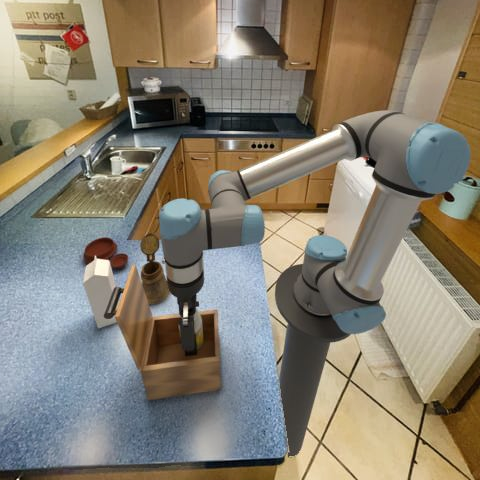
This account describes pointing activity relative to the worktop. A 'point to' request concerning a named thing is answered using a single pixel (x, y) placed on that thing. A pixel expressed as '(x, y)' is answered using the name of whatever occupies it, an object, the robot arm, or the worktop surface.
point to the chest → (180, 359)
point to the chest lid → (132, 315)
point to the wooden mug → (153, 271)
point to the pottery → (104, 252)
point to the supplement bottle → (197, 329)
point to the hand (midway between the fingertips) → (191, 339)
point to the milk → (99, 289)
